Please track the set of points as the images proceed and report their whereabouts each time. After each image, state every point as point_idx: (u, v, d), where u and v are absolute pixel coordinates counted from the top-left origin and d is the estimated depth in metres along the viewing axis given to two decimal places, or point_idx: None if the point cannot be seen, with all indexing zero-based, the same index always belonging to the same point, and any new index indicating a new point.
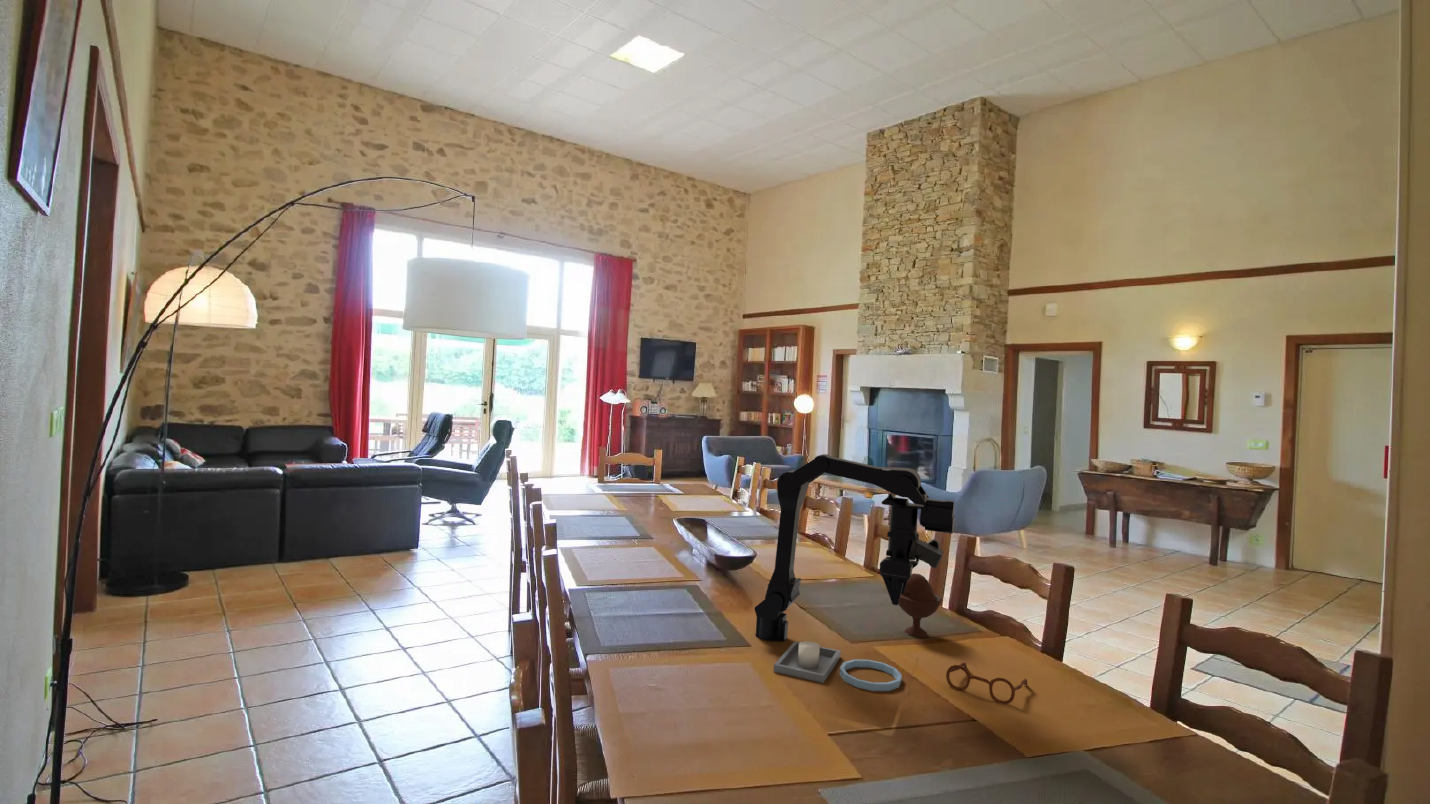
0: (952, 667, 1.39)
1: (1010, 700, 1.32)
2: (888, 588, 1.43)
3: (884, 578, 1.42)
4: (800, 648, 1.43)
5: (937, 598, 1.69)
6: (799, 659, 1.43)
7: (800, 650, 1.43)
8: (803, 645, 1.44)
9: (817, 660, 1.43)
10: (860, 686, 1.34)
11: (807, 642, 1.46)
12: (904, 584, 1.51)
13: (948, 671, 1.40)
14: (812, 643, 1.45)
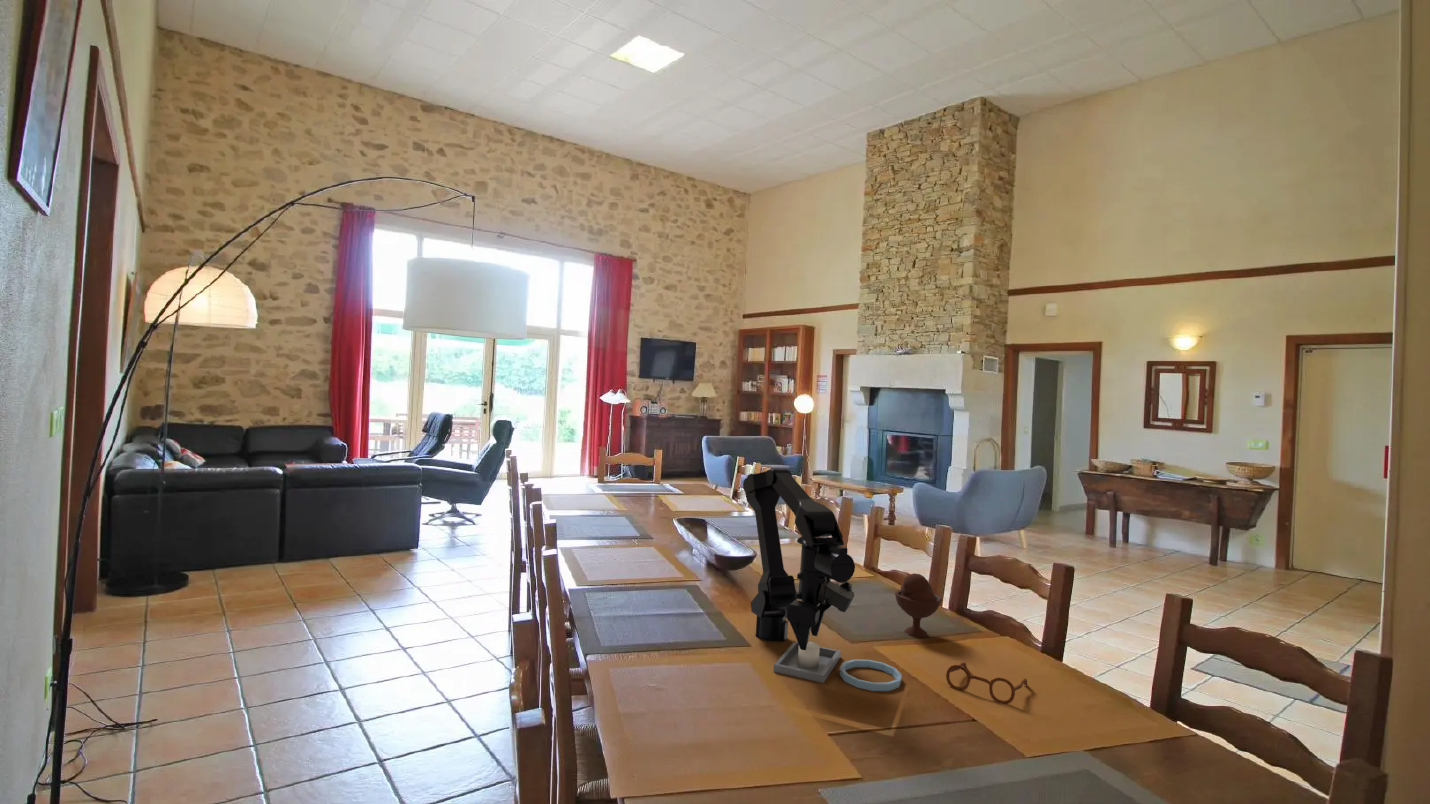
0: (952, 667, 1.39)
1: (1010, 700, 1.32)
2: (795, 633, 1.39)
3: (791, 623, 1.39)
4: None
5: (937, 598, 1.69)
6: (799, 659, 1.43)
7: (800, 650, 1.43)
8: None
9: (817, 660, 1.43)
10: (860, 686, 1.34)
11: None
12: (817, 626, 1.48)
13: (948, 671, 1.40)
14: (812, 643, 1.45)
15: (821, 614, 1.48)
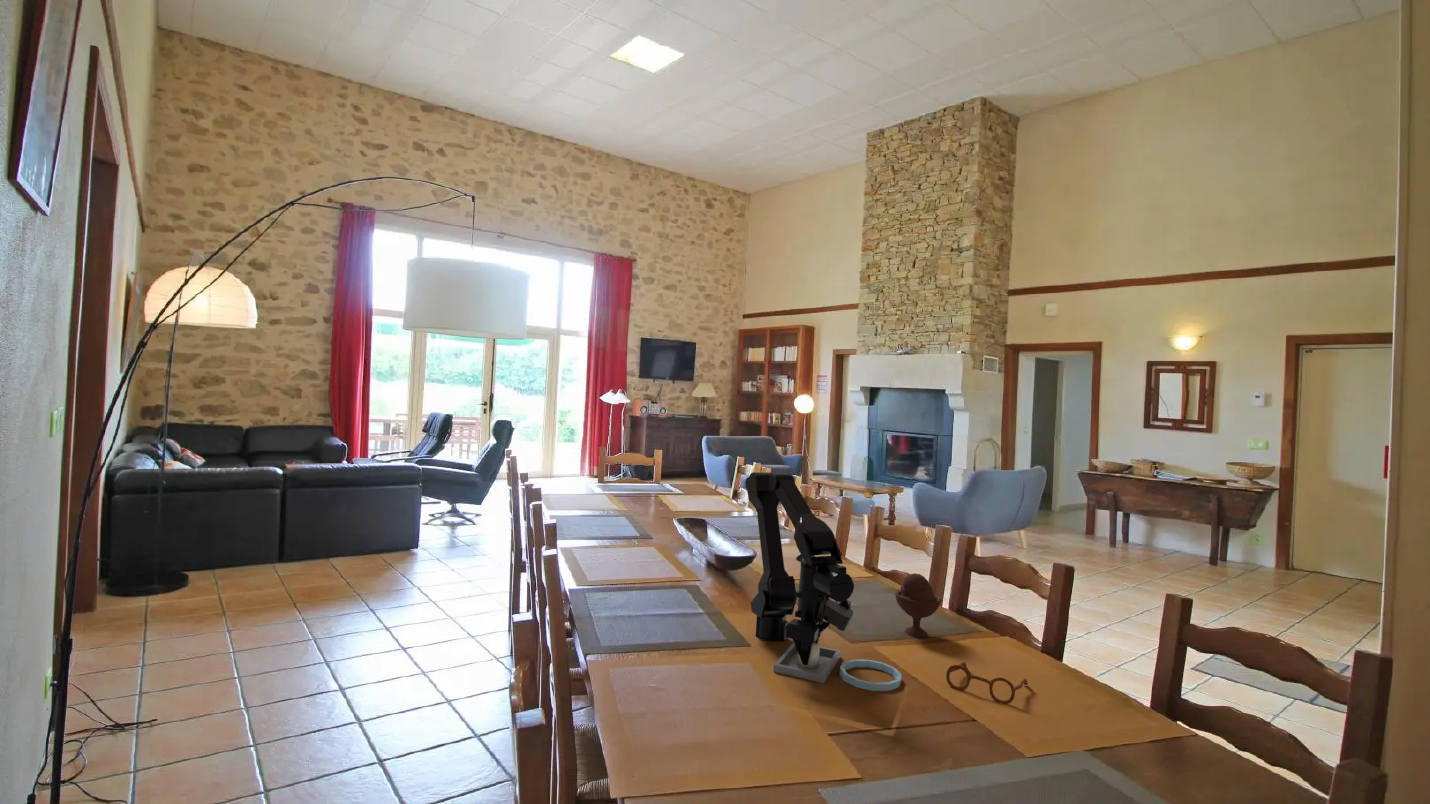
0: (952, 667, 1.39)
1: (1010, 700, 1.32)
2: (798, 648, 1.41)
3: None
4: None
5: (937, 598, 1.69)
6: (799, 659, 1.43)
7: None
8: None
9: (817, 660, 1.43)
10: (860, 686, 1.34)
11: None
12: None
13: (948, 671, 1.40)
14: None
15: (818, 635, 1.46)
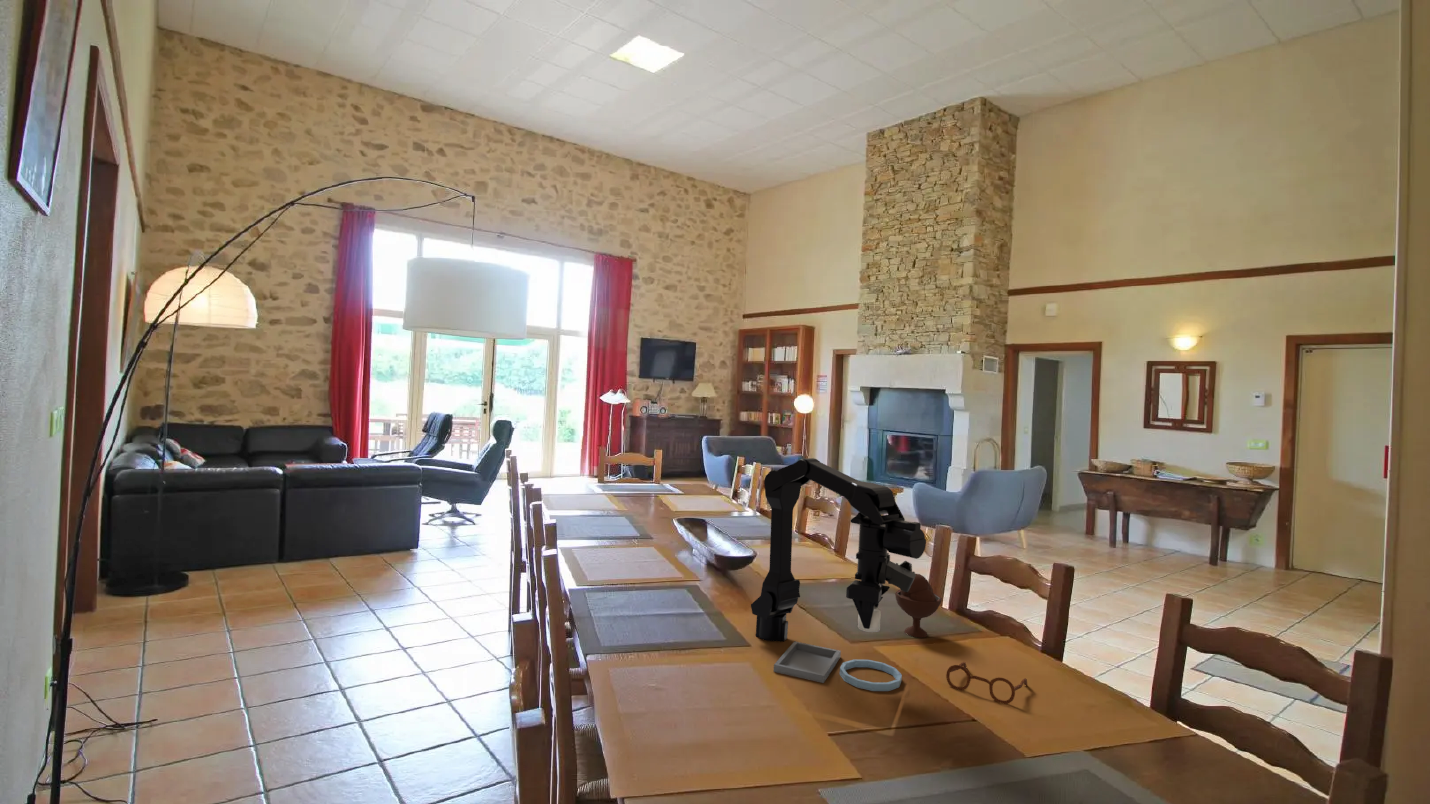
0: (952, 667, 1.39)
1: (1010, 700, 1.32)
2: (859, 611, 1.36)
3: (854, 600, 1.36)
4: None
5: (937, 598, 1.69)
6: (860, 623, 1.38)
7: None
8: None
9: (879, 623, 1.38)
10: (860, 686, 1.34)
11: None
12: None
13: (948, 671, 1.40)
14: None
15: None
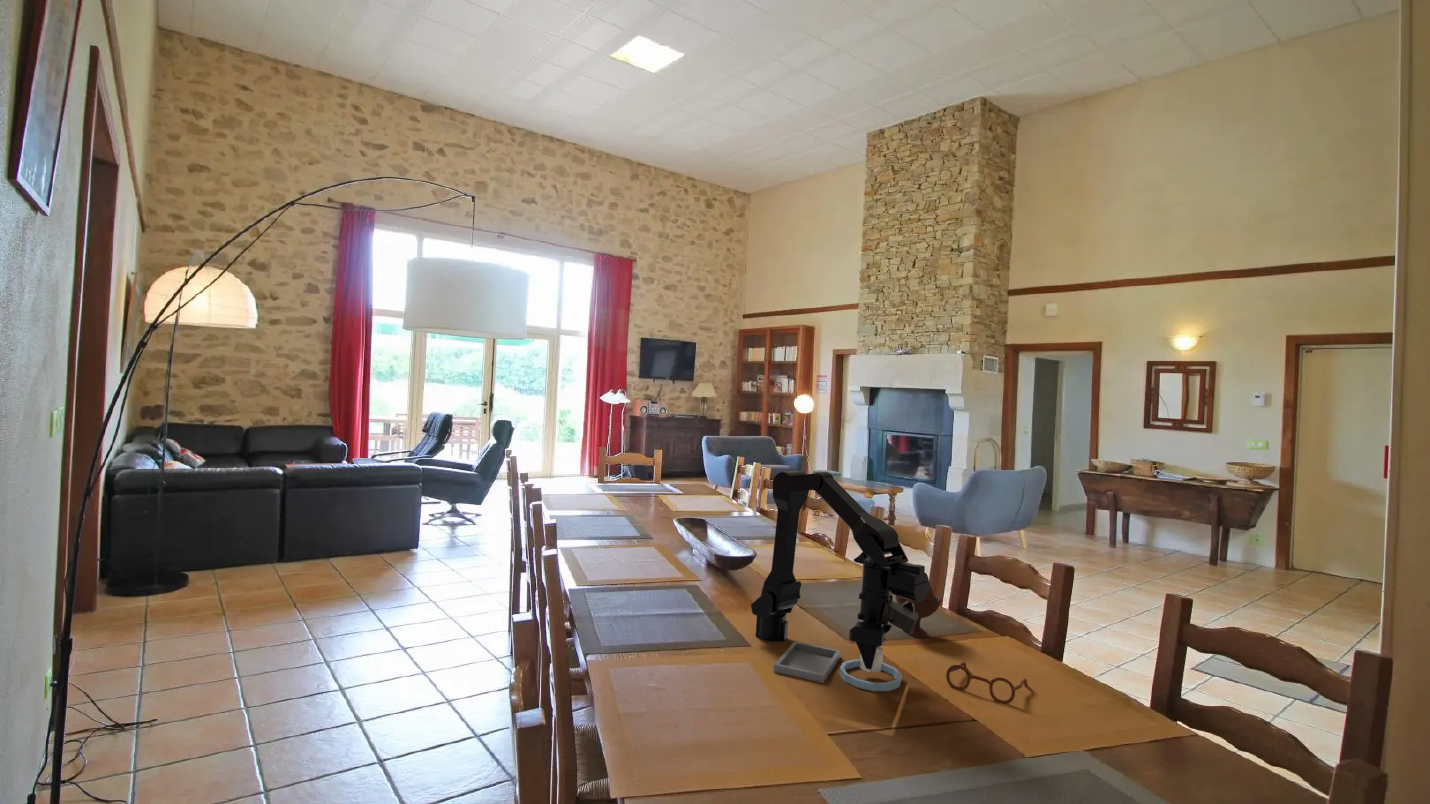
0: (952, 667, 1.39)
1: (1010, 700, 1.32)
2: (861, 651, 1.36)
3: (857, 641, 1.36)
4: None
5: (937, 598, 1.69)
6: (862, 663, 1.38)
7: None
8: None
9: (881, 664, 1.38)
10: (860, 686, 1.34)
11: None
12: None
13: (948, 671, 1.40)
14: None
15: None
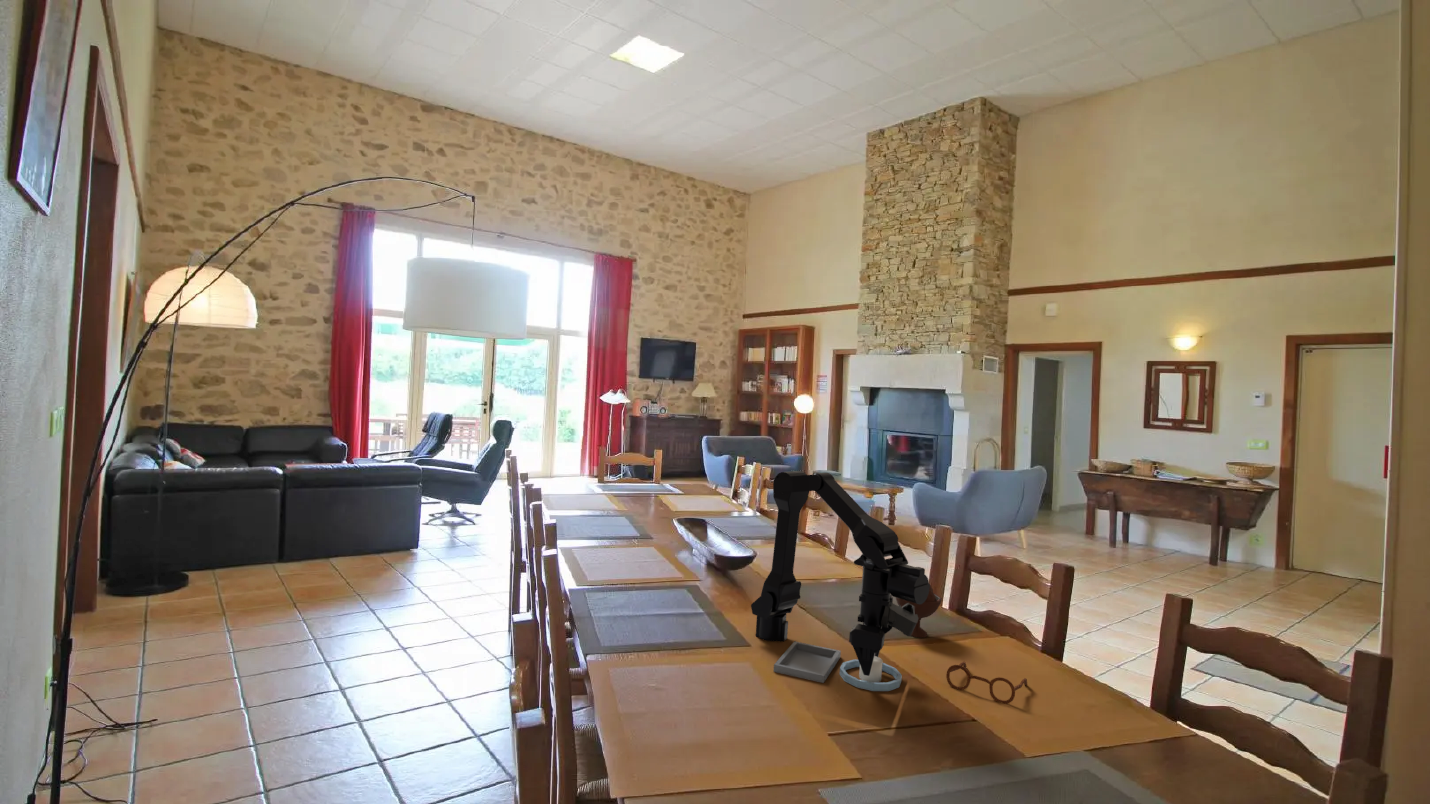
0: (952, 667, 1.39)
1: (1010, 700, 1.32)
2: (859, 658, 1.34)
3: (855, 647, 1.34)
4: None
5: (937, 598, 1.69)
6: (861, 673, 1.38)
7: None
8: None
9: (880, 674, 1.38)
10: (860, 686, 1.34)
11: None
12: None
13: (948, 671, 1.40)
14: (874, 657, 1.40)
15: None
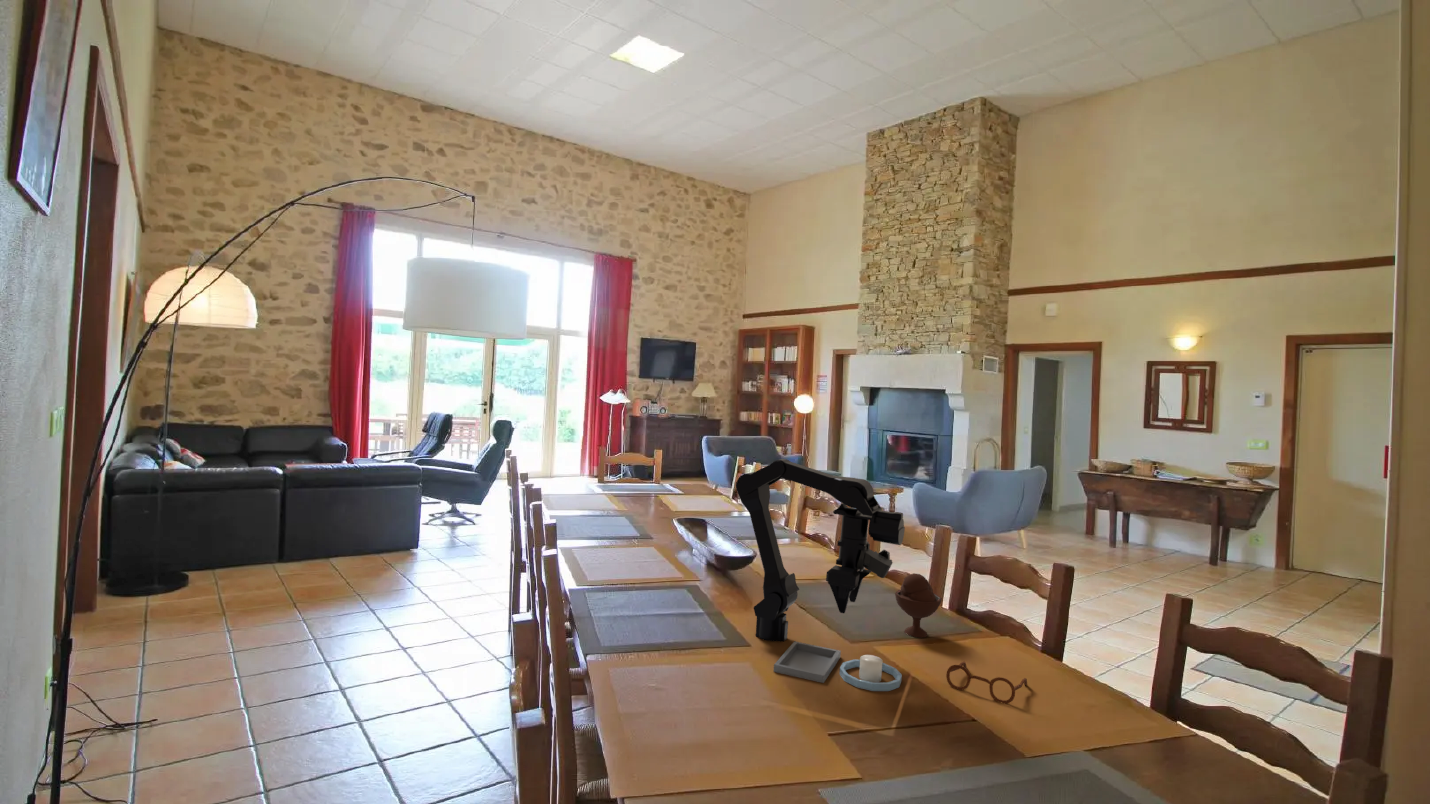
0: (952, 667, 1.40)
1: (1010, 700, 1.32)
2: (835, 596, 1.46)
3: (831, 586, 1.45)
4: (863, 662, 1.38)
5: (937, 598, 1.69)
6: (861, 674, 1.38)
7: (862, 664, 1.38)
8: (865, 659, 1.38)
9: (880, 674, 1.38)
10: (860, 686, 1.34)
11: (868, 656, 1.40)
12: (855, 592, 1.54)
13: (948, 671, 1.40)
14: (874, 657, 1.40)
15: (859, 581, 1.54)
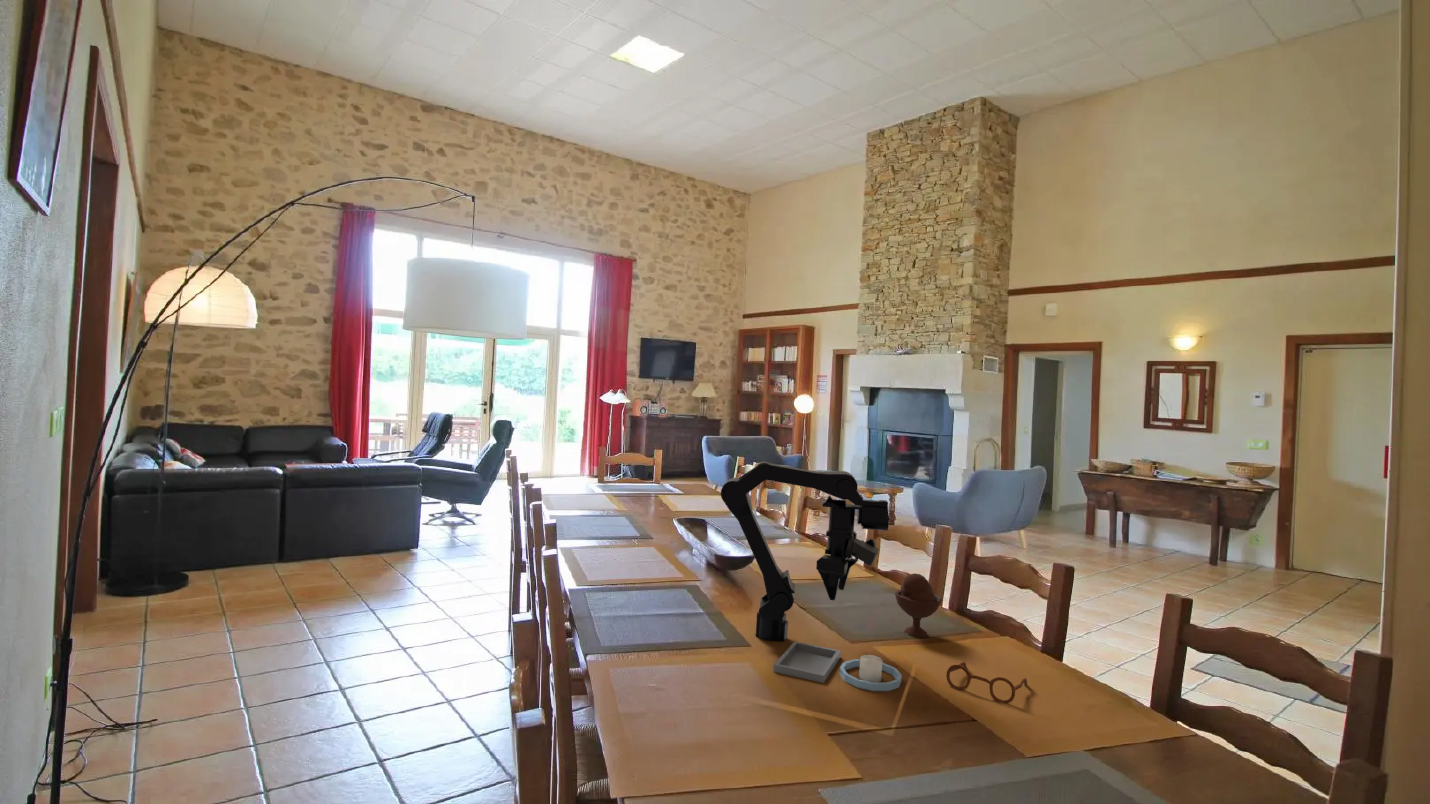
0: (952, 667, 1.40)
1: (1010, 699, 1.32)
2: (825, 584, 1.52)
3: (821, 575, 1.52)
4: (863, 662, 1.38)
5: (937, 598, 1.69)
6: (861, 674, 1.38)
7: (862, 664, 1.38)
8: (865, 659, 1.38)
9: (880, 674, 1.38)
10: (860, 686, 1.34)
11: (868, 656, 1.40)
12: (844, 581, 1.61)
13: (948, 671, 1.40)
14: (874, 657, 1.40)
15: (847, 570, 1.61)
